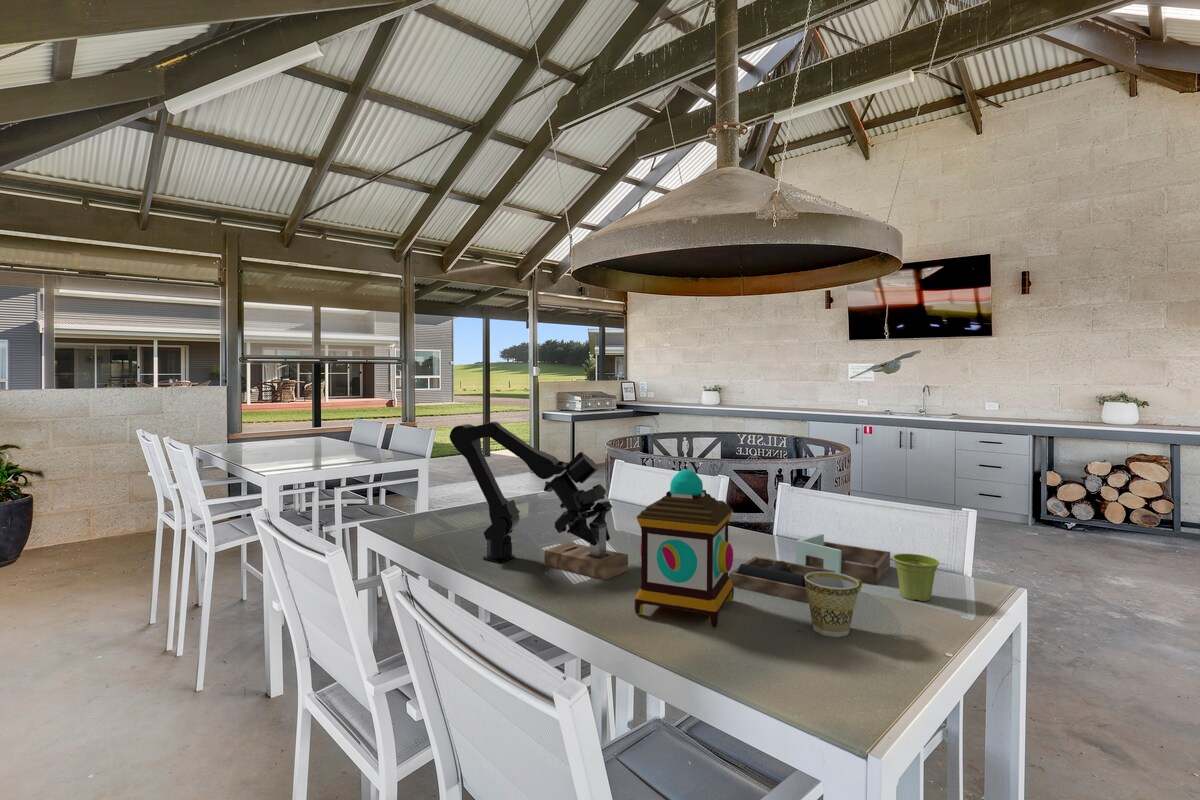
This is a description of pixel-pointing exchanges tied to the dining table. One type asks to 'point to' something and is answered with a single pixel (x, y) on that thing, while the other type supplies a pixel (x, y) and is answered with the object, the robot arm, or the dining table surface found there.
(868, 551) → the brown shallow square box
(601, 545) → the block
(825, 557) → the l-shaped corner panel
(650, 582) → the decorative lantern
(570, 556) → the bit block
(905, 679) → the dining table surface
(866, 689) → the dining table surface
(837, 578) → the ceramic cup
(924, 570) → the plant pot
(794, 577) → the pipe connector
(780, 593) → the wooden tray
